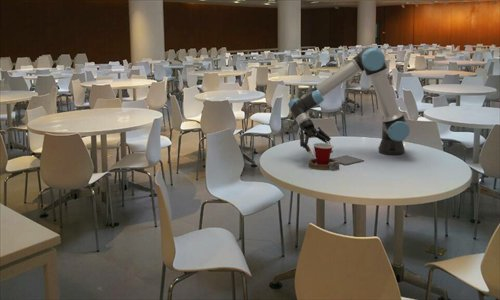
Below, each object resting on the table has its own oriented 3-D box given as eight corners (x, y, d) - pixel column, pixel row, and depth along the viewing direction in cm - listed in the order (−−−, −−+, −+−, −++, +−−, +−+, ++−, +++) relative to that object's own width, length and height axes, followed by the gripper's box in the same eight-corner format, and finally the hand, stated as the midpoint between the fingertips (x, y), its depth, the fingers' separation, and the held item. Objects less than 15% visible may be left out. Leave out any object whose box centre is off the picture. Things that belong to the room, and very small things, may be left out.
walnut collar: (324, 160, 285) (324, 153, 284) (346, 167, 270) (346, 160, 269) (303, 165, 277) (303, 158, 276) (324, 172, 262) (324, 165, 261)
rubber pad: (346, 156, 293) (346, 155, 293) (363, 161, 281) (363, 160, 281) (328, 160, 285) (328, 159, 285) (345, 165, 274) (345, 164, 274)
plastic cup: (332, 168, 268) (332, 147, 265) (312, 168, 270) (312, 146, 268) (333, 163, 279) (333, 142, 276) (313, 163, 281) (313, 142, 278)
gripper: (319, 124, 291) (336, 154, 282) (284, 129, 278) (301, 161, 269) (325, 116, 285) (343, 146, 276) (290, 121, 272) (307, 153, 263)
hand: (322, 154), depth 273 cm, fingers open, 13 cm apart
